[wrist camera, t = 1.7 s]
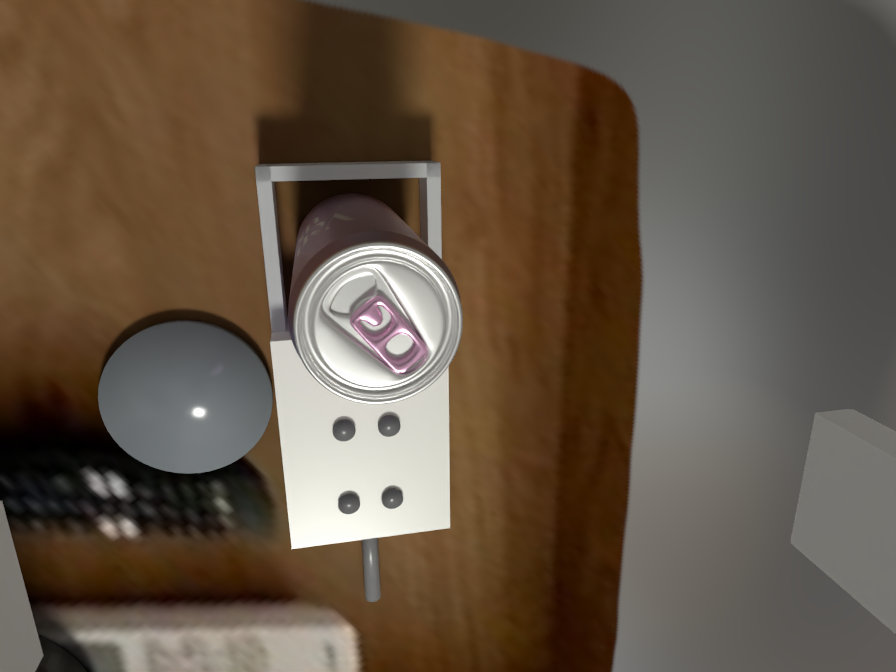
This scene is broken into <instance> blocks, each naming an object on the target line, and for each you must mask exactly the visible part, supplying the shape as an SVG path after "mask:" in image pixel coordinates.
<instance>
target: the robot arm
mask: <svg viewBox="0 0 896 672" xmlns="http://www.w3.org/2000/svg"><path fill="white" fill-rule="evenodd" d="M790 543H791V544H792V545H794V546H795V547H796V548H797V549H798V550H799V551H800V552H802V553H803V554H804V555H805V556H806V557H807V558H808V559H810V560H811V561H812V562H813V563H814V564H815V565H817V566H818V567H819V568H820V569H821V570H822V571H824V572H825V573H826V574H827V575H828V576H829V577H830V578H831V579H833V580H834V581H835V582H836V583H837V584H839V585H840V586H841V587H842V588H843V589H844V590H845V591H847V592H848V593H849V594H850V595H851V596H852V597H853V598H855V599H856V600H857V601H858V602H859V603H860V604H861V605H863V606H864V607H865V608H866V609H867V610H869V611H870V612H871V613H872V614H873V615H874V616H875V617H876V618H878V619H879V620H880V621H881V622H882V623H883V624H885V625H886V626H887V627H888V628H889V629H890V630H891V631H893V632H894V633H895V634H896V432H895V431H893V430H891V429H889V428H888V427H886V426H884V425H882V424H880V423H878V422H876V421H874V420H872V419H870V418H868V417H866V416H865V415H863V414H861V413H859V412H857V411H855V410H853V409H848V410H839V411H829V412H819V413H815V418H814V423H813V428H812V434H811V438H810V443H809V449H808V454H807V459H806V464H805V469H804V475H803V479H802V485H801V490H800V495H799V501H798V505H797V510H796V516H795V521H794V526H793V532H792V536H791V541H790ZM0 672H87V671H86V670H85V668H84V667H83V666H82V665H81V664H80V663H79V662H78V661H77V660H76V659H75V658H74V657H73V656H72V655H70V654H69V653H68V652H67V651H65V650H64V649H62V648H61V647H59V646H58V645H56V644H55V643H53V642H51V641H49V640H47V639H45V638H43V637H41V636H39V635H38V633H37V629H36V626H35V622H34V618H33V614H32V611H31V607H30V603H29V600H28V596H27V592H26V588H25V585H24V581H23V577H22V573H21V570H20V566H19V562H18V559H17V555H16V551H15V547H14V544H13V540H12V536H11V532H10V529H9V525H8V521H7V517H6V514H5V510H4V506H3V503H2V501H0Z"/></svg>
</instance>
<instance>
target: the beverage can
mask: <svg viewBox="0 0 896 672" xmlns="http://www.w3.org/2000/svg"><path fill="white" fill-rule="evenodd" d="M288 326H289V332H290V336H291V340H292V342H293V345H294V347H295V350H296V352H297V354H298V355H299V357H300V359H301V360H302V362H303V364H304V366H305V367H306V369H307V370H308V371H309V373H310V374H311V375H312V376H313V377H314V379H315V380H316V381H317V382H319V383H320V384H321V385H322V386H323V387H325V388H326V389H327V390H329V391H330V392H332V393H334V394H336V395H338V396H340V397H342V398H344V399H347V400H350V401H354V402H358V403H364V404H387V403H393V402H397V401H401V400H404V399H407V398H410V397H412V396H414V395H416V394H418V393H420V392H422V391H423V390H425V389H426V388H428V387H429V386H430V385H432V384H433V383H434V382H435V381H436V380H437V379H438V378H439V377H440V376H441V375H442V374H443V373H444V372H445V370H446V369H447V368H448V366H449V365H450V363H451V361H452V360H453V358H454V356H455V354H456V351H457V349H458V346H459V343H460V339H461V334H462V326H463V315H462V307H461V300H460V295H459V291H458V287H457V284H456V282H455V280H454V277H453V275H452V274H451V272H450V270H449V269H448V267H447V266H446V264H445V263H444V262H443V260H442V259H441V258H440V257H439V256H438V255H437V254H436V253H435V252H434V251H433V250H432V249H431V248H430V247H429V246H428V245H427V244H426V243H425V242H424V241H423V240H422V239H421V238H420V237H419V236H418V235H417V234H416V233H415V232H414V231H413V230H412V229H411V228H410V227H409V226H408V225H407V224H406V223H405V222H404V221H403V220H402V219H401V218H400V217H399V216H398V215H397V214H396V213H395V212H394V211H393V210H392V209H391V208H390V207H388V206H387V205H386V204H385V203H383V202H382V201H380V200H378V199H376V198H374V197H371V196H368V195H365V194H359V193H344V194H338V195H335V196H332V197H329V198H327V199H325V200H323V201H322V202H320V203H319V204H317V205H316V206H315V207H314V208H313V209H312V210H311V211H310V212H309V213H308V214H307V216H306V217H305V219H304V220H303V222H302V224H301V226H300V229H299V232H298V236H297V242H296V250H295V258H294V266H293V274H292V282H291V290H290V298H289V306H288Z"/></svg>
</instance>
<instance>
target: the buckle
mask: <svg viewBox="0 0 896 672" xmlns="http://www.w3.org/2000/svg"><path fill="white" fill-rule="evenodd" d="M255 173H256V183H257V192H258V202H259V212H260V222H261V231H262V241H263V251H264V260H265V270H266V280H267V290H268V299H269V309H270V319H271V328H272V335H271V340H270V345H271V354H272V364H273V373H274V383H275V392H276V402H277V412H278V421H279V431H280V440H281V450H282V460H283V469H284V479H285V488H286V498H287V507H288V517H289V527H290V536H291V546H292V549H296V548H303V547H311V546H318V545H326V544H333V543H341V542H348V541H356V540H362V552H363V568H364V584H365V598H366V600H367V601H370V602H374V601H377V600H379V599H380V597H381V593H380V574H379V556H378V537H386V536H393V535H401V534H408V533H416V532H423V531H431V530H438V529H445V528H450V472H449V376H448V368H447V369H446V370H445V372H444V373H443V374H442V375H441V376H440V377H439V378H438V379H437V380H436V381H435V382H434V383H433V384H432V385H430V386H429V387H428V388H426V389H425V390H423V391H422V392H420V393H418V394H416V395H414V396H412V397H410V398H407V399H404V400H401V401H397V402H393V403H387V404H364V403H358V402H354V401H350V400H347V399H344V398H342V397H340V396H338V395H336V394H334V393H332V392H330V391H329V390H327V389H326V388H325V387H323V386H322V385H321V384H320V383H319V382H317V381H316V380H315V379H314V377H313V376H312V375H311V374H310V373H309V371H308V370H307V369H306V367H305V366H304V364H303V362H302V360H301V359H300V357H299V355H298V354H297V352H296V350H295V347H294V345H293V342H292V340H291V336H290V332H289V326H288V318H287V308H286V297H285V287H284V276H283V265H282V255H281V244H280V233H279V223H278V212H277V202H276V191H275V181H309V180H348V179H387V178H419V196H420V238H421V239H422V240H423V241H424V242H425V243H426V244H427V245H428V246H429V247H430V248H431V249H432V250H433V251H434V252H435V253H436V254H437V255H438V256H439V257H440V258H441V259H442V251H441V175H440V163H439V162H435V161H383V162H334V163H285V164H258V165H257V166H255Z"/></svg>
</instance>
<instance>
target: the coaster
mask: <svg viewBox="0 0 896 672" xmlns="http://www.w3.org/2000/svg"><path fill="white" fill-rule="evenodd" d="M98 402H99V409H100V413H101V416H102V419H103V422H104V424H105V426H106V428H107V430H108V431H109V433H110V435H111V436H112V438H113V439H114V440H115V441H116V442H117V444H118V445H119V446H120V447H121V448H123V449H124V450H125V451H126V452H127V453H128V454H130V455H131V456H133V457H134V458H135V459H137V460H139V461H141V462H143V463H144V464H147V465H149V466H152V467H154V468H157V469H161V470H164V471H169V472H175V473H201V472H207V471H212V470H215V469H219V468H221V467H224V466H226V465H229V464H231V463H233V462H234V461H236V460H238V459H239V458H241V457H242V456H244V455H245V454H246V453H247V452H248V451H250V450H251V449H252V448H253V447H254V446H255V444H256V443H257V442H258V441H259V439H260V438H261V436H262V435H263V433H264V431H265V429H266V427H267V425H268V422H269V419H270V415H271V411H272V402H273V389H272V384H271V379H270V376H269V373H268V370H267V368H266V366H265V364H264V362H263V361H262V359H261V358H260V356H259V355H258V353H257V352H256V351H255V350H254V349H253V348H252V347H251V346H250V345H249V344H248V343H247V342H246V341H244V340H243V339H242V338H241V337H239V336H238V335H236V334H235V333H233V332H231V331H229V330H227V329H225V328H223V327H220V326H217V325H215V324H211V323H207V322H203V321H195V320H173V321H166V322H162V323H158V324H155V325H152V326H149V327H147V328H144V329H143V330H141V331H139V332H137V333H135V334H134V335H132V336H131V337H130V338H128V339H127V340H126V341H125V342H124V343H123V344H122V345H121V346H120V347H119V348H118V349H117V350H116V351H115V352H114V354H113V355H112V356H111V358H110V359H109V360H108V362H107V364H106V366H105V368H104V370H103V373H102V375H101V378H100V383H99V388H98Z"/></svg>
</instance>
